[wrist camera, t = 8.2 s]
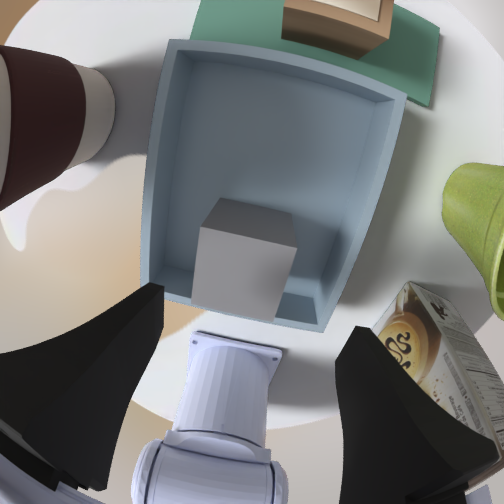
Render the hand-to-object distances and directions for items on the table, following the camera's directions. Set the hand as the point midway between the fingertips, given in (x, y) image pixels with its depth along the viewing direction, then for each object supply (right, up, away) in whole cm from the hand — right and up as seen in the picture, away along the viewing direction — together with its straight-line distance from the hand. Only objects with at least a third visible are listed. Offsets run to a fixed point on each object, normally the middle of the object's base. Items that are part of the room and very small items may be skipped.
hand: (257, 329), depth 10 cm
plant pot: (+16, +7, +6) cm, 19 cm away
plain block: (0, +4, +8) cm, 9 cm away
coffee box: (+13, -4, +12) cm, 18 cm away
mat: (+4, +17, +2) cm, 17 cm away
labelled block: (+4, +16, +1) cm, 17 cm away
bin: (0, +7, +7) cm, 10 cm away
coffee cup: (-13, +13, +5) cm, 19 cm away
